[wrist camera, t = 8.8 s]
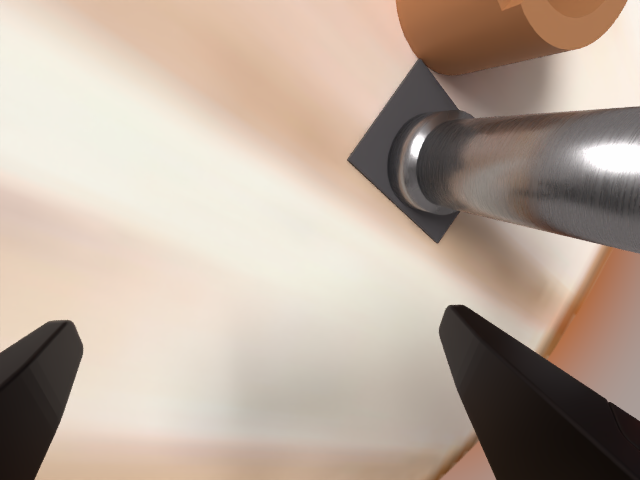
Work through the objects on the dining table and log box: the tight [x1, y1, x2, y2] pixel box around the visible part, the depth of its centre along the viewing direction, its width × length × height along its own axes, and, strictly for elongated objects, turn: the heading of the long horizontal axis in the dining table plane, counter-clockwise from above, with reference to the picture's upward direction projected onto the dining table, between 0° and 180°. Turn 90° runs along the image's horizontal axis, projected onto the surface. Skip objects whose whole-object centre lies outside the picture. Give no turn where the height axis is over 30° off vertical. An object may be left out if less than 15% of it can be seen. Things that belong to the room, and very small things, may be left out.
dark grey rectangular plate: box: [347, 59, 460, 243], centre depth 21 cm, size 7×9×1 cm
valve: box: [387, 106, 640, 253], centre depth 15 cm, size 6×6×15 cm
